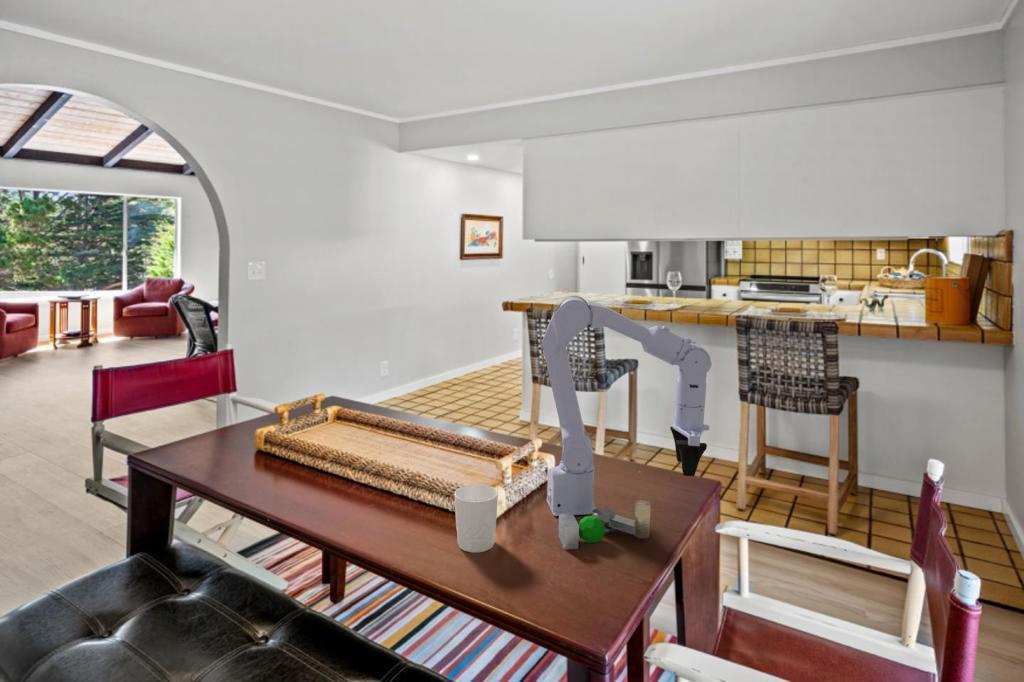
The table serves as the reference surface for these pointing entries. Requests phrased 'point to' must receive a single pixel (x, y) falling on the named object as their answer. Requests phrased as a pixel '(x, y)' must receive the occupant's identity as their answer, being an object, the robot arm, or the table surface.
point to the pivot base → (609, 530)
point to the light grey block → (568, 531)
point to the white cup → (476, 517)
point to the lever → (627, 519)
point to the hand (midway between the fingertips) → (685, 468)
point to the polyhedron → (591, 529)
